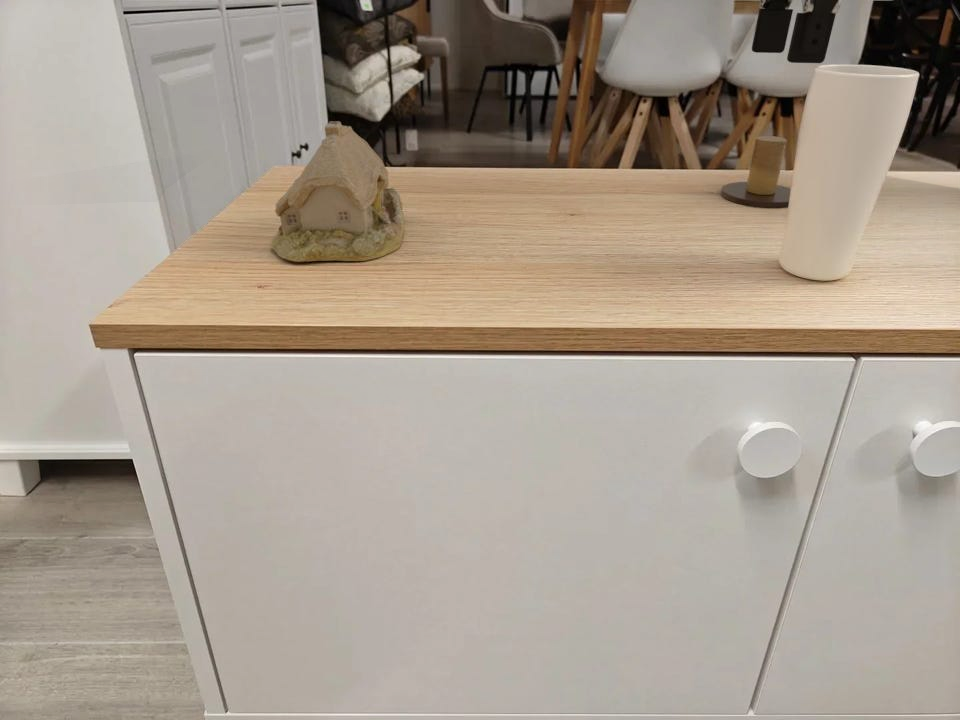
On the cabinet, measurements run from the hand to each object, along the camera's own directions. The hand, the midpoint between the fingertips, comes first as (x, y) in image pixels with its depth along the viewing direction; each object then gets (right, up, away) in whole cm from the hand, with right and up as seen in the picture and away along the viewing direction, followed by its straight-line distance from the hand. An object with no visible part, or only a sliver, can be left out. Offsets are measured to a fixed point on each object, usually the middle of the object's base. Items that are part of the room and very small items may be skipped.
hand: (784, 57), depth 65 cm
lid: (+1, -12, +7) cm, 14 cm away
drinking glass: (-3, -22, -11) cm, 25 cm away
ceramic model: (-42, -19, -4) cm, 46 cm away
